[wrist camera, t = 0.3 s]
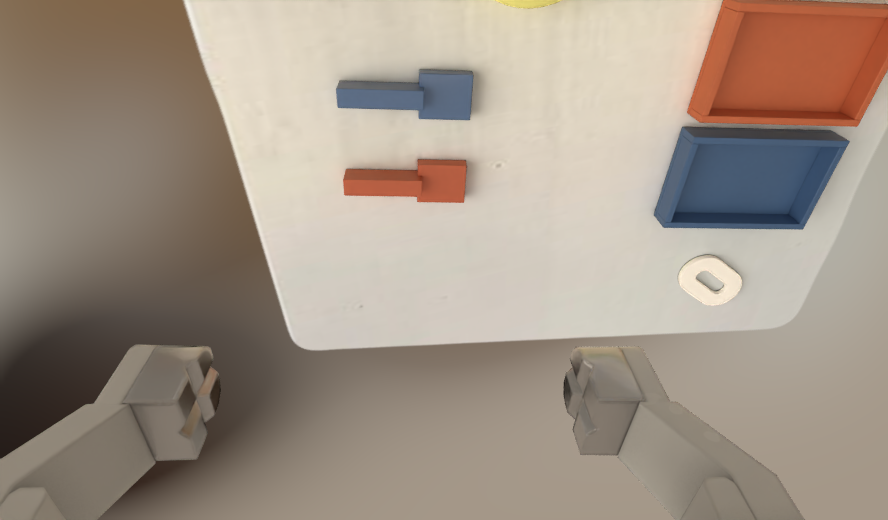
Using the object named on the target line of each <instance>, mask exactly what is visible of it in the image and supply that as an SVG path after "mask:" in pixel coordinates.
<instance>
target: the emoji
mask: <svg viewBox="0 0 888 520" xmlns="http://www.w3.org/2000/svg"><path fill="white" fill-rule="evenodd" d="M495 1H498V2H500V3H502V4H505V5H507V6H512V7H517V8H538V7H544V6H548V5H551V4H554V3H557V2H559V1H561V0H495Z"/></svg>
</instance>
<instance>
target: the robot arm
mask: <svg viewBox="0 0 888 520" xmlns="http://www.w3.org/2000/svg"><path fill="white" fill-rule="evenodd" d="M212 361H213V355H212V352H211V349H210V347H207V346H185V345H135V346H133V347H132V348H130V349H129V350H128V352H127V353H126V355H125V356H124V358H123V359H122V361H121V363H120V364H119V366H118V367H117V369H116V370H115V372H114V373H113V375H112V377H111V378H110V380H109V381H108V383H107V384H106V386H105V387H104V389H103V390H102V392H101V394H100V395H99V397H98V398H97V400H96V401H95V403H94V404H86V405H84V406H83V407H81V408H80V409H79V410H77V411H75V412H74V413H72V414H70V415H69V416H67V417H66V418H64V419H63V420H61V421H59V422H58V423H56V424H55V425H53V426H52V427H50V428H49V429H47V430H46V431H44V432H42V433H41V434H39V435H38V436H36V437H35V438H33V439H32V440H30V441H28V442H27V443H25V444H24V445H22V446H21V447H19V448H17V449H16V450H14V451H13V452H11V453H10V454H8V455H7V456H5V457H4V458H2V459H0V520H97V519H98V518H99V516H101V515H102V514H103V513H104V512H105V511H106V510H107V509H108V508H109V507H110V506H111V505H112V504H113V503H114V502H115V501H117V500H118V499H119V498H120V497H121V496H122V495H123V494H124V493H125V492H126V491H127V490H128V489H129V488H130V487H131V486H132V485H133V484H134V483H135V482H136V481H137V480H138V479H139V478H140V477H141V476H143V475H144V474H145V473H146V472H147V471H148V470H149V469H150V468H151V467H152V466H153V465H154V464H155V461H161V460H162V461H163V460H189V459H197V458H198V456H199V453H200V451H201V448H202V446H203V443H204V440H205V438H206V435H207V433H208V432H207V429H206V425H205V422H206V421H208V420H209V419H210V418H211V417H213V416H214V415H215V412H216V410H217V407H218V404H219V398H220V392H221V388H220V379H219V375H218V373H217V372H216V371H215V370H214V369H212V368H211V367H210V366H211V363H212ZM570 361H571V364H572V368H571V369H570V370H569V371H568V372H566V376H565V380H564V399H565V405H566V409H567V412H568V413H569V414H570V415H571V416H572V417H573V418H574V419H575V424H574V427H573V432H574V435H575V439H576V442H577V445H578V448H579V451H580V454H581V455H618V458H619V459H620V461H621V462H622V463H623V464H624V465H625V466H626V467H627V468H628V469H629V470H630V471H631V472H632V473H633V475H634V476H635V477H636V478H637V479H638V480H639V481H640V482H641V483H642V484H643V485H644V486H645V487H646V488H647V490H649V492H650V493H651V494H652V495H653V496H654V497H655V498H656V499H657V500H658V501H659V502H660V504H662V506H663V507H664V508H665V509H666V510H667V511H668V512H669V513H670V514H671V515H672V516H673V517H674V519H675V520H805V519H804V518H803V516H802V515H801V513H800V511H799V510H798V508H797V507H796V505H795V503H794V502H793V500H792V499H791V497H790V496H789V494H788V493H787V491H786V489H785V488H784V486H783V484H782V483H781V481H780V480H779V478H778V477H777V475H776V474H774V473H773V472H772V471H770V470H769V469H768V468H766V467H765V466H764V465H762V464H761V463H759V462H758V461H757V460H755V459H754V458H753V457H751V456H750V455H749V454H747V453H746V452H744V451H743V450H742V449H740V448H739V447H738V446H736V445H735V444H733V443H732V442H731V441H730V440H728V439H727V438H726V437H724V436H723V435H721V434H720V433H719V432H717V431H716V430H715V429H713V428H712V427H711V426H709V425H708V424H706V423H705V422H704V421H702V420H701V419H700V418H698V417H697V416H696V415H694V414H693V413H692V412H690V411H689V410H687V409H686V408H685V407H683V406H682V405H681V404H679V403H678V402H670V400H669V398H668V396H667V394H666V392H665V390H664V389H663V387H662V385H661V383H660V381H659V379H658V377H657V375H656V373H655V371H654V369H653V368H652V365H651V364H650V362H649V360H648V358H647V356H646V354H645V352H644V350H643V349H642V348H640V347H639V346H635V347H575V348H574V349H573V351H572V353H571V357H570Z"/></svg>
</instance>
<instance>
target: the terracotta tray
mask: <svg viewBox="0 0 888 520" xmlns="http://www.w3.org/2000/svg"><path fill="white" fill-rule="evenodd" d="M887 70H888V4H866V3H842V2H818V1H795V0H723V3H722V6H721V9H720V12H719V15H718V18H717V22H716V25H715V28H714V31H713V34H712V37H711V40H710V43H709V46H708V49H707V52H706V55H705V58H704V62H703V65H702V68H701V71H700V74H699V77H698V80H697V83H696V86H695V89H694V92H693V95H692V98H691V102H690V105H689V108H688V111H687V113H688V114H690V115H691V116H692V117H693V118H695V119H696V120H697V121H699V122H702V123H741V124H779V125H817V126H856V127H857V126H858V125H859V123H860V121H861V119H862V117H863V115H864V113H865V111H866V109H867V107H868V106H869V104H870V102H871V100H872V98H873V96H874V94H875V92H876V91H877V89H878V87H879V85H880V83H881V81H882V79H883V77H884V75H885V74H886V72H887Z"/></svg>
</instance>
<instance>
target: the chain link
mask: <svg viewBox="0 0 888 520" xmlns="http://www.w3.org/2000/svg"><path fill="white" fill-rule="evenodd" d="M701 271H708V272H710V273H711V274H712V275H714V276H715V277H716V278H718V279H719V280H720V281H722V282H723V283H724V287H723V288H722V289H721V290H719V291H712V290H711V289H709V288H708V287H707V286H705V285H704V284H703V283H701V282H700V281H699V280H697V279H696V276H697V274H698V273H699V272H701ZM678 281H679V284H680V286H681V287H682V288H683V290H685V291H686V292H687V293H689V294H690V295H692V296H693V297H694V298H696V299H697V300H699V301H700V302H701V303H703V304H705V305H709V306H715V305H720V304H723V303H726V302H728V301H729V300H731V299H732V298H734V297H735V296H736V295H737V293H738V292H739V291H740V289H741V286H742V279H741V277H740V275H739V274H738V273H737V272H736V271H735V270H733V269H732V268H731V267H729V266H728V265H727V264H726V263H724V262H723V261H722V260H721V259H719V258H718V257H716V256H712V255H703V256H699V257H696V258H694V259H692V260H691V261H689V262H688V263H687V264H685V265H684V267H683V268H682V269H681V271H680V273H679V277H678Z"/></svg>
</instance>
